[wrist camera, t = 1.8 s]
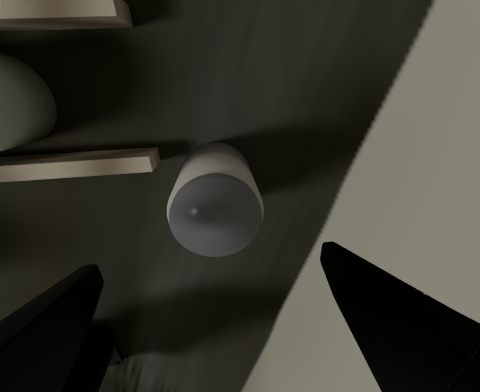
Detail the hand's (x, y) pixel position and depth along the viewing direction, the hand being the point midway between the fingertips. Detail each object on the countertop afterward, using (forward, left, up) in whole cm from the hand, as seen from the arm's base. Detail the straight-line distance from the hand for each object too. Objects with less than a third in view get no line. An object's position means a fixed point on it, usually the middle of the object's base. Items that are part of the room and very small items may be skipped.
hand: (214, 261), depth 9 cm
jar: (0, 0, -10) cm, 10 cm away
